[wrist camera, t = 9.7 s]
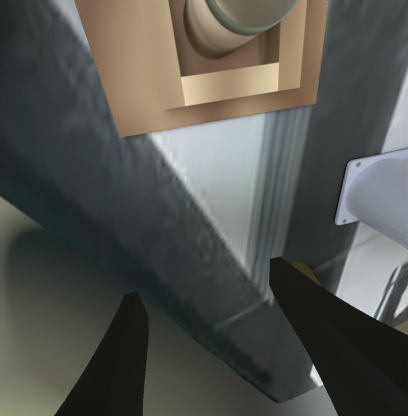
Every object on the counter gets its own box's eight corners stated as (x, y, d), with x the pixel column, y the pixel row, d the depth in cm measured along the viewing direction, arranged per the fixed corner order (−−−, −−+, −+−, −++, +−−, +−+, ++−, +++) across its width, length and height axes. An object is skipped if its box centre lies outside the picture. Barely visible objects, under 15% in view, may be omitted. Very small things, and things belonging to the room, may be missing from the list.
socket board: (332, -129, 12) (405, -225, 8) (308, 103, 18) (344, 104, 14) (42, -112, 10) (-20, -220, 7) (122, 135, 16) (111, 145, 13)
